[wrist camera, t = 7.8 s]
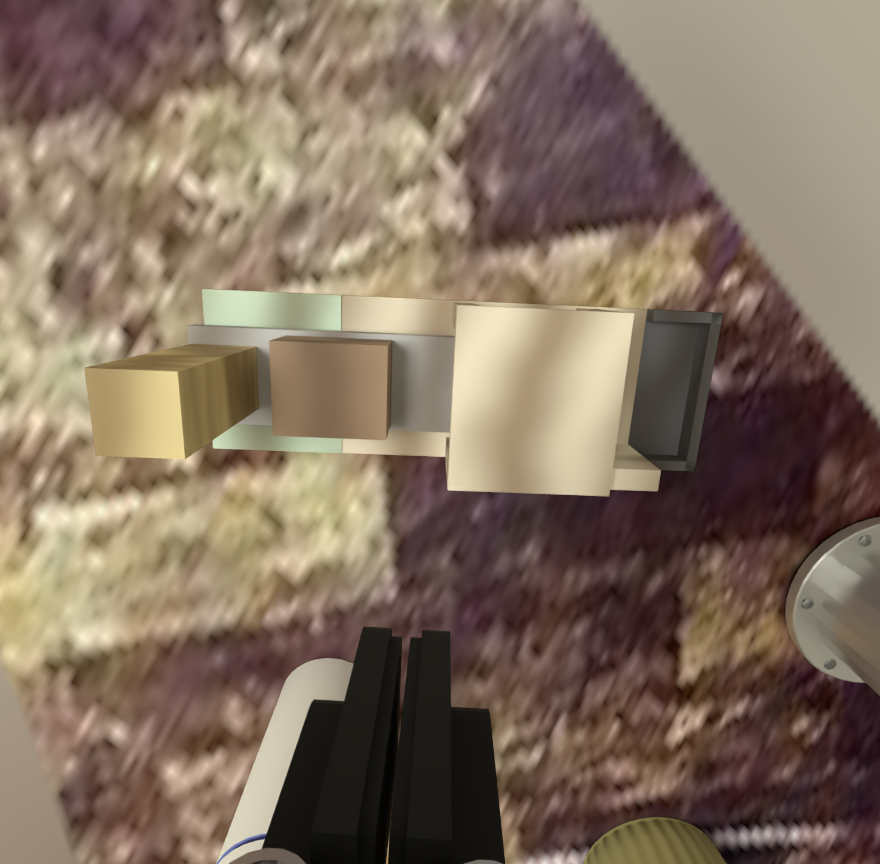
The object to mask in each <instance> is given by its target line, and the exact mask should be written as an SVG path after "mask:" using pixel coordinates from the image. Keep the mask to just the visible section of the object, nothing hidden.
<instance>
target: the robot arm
mask: <svg viewBox="0 0 880 864" xmlns="http://www.w3.org/2000/svg"><path fill="white" fill-rule="evenodd" d="M785 618H786V625H787V630H788V632H789V635H790V638H791V640H792V642H793V643H794V645H795V646H796V648H797V649H798V651H799V652H800V653H801V654H802V655H803V656H804V657H805V658H806V659H807V660H808V661H809V662H810V663H811V664H812V665H813V666H815V667H816V668H817V669H819V670H820V671H821V672H823V673H825V674H827V675H830V676H832V677H835V678H837V679H840V680H845V681H850V682H863V683H866V684H867V685H868V686H870V687H871V688H872V689H873V690H874V691H875V692H876V693H877V694H878V695H879V696H880V517H875V518H871V519H868V520H865V521H861V522H858V523H855V524H853V525H851V526H849V527H847V528H845V529H843V530H841V531H839V532H837V533H836V534H834V535H833V536H831V537H830V538H828V539H827V540H826V541H824V542H823V543H822V544H821V545H820V546H818V547H817V548H816V549H815V550H814V551H813V552H812V553H811V554H810V555H809V556H808V558H807V559H806V560H805V562H804V563H803V564H802V565H801V567H800V568H799V569H798V571H797V573H796V575H795V577H794V579H793V581H792V583H791V585H790V589H789V592H788V595H787V599H786V608H785ZM401 654H402V637H396V636H392V628H378V627H363V629H362V633H361V637H360V641H359V645H358V649H357V653H356V656H355V660H354V664H353V668H352V672H351V676H350V680H349V684H348V688H347V692H346V696H345V699H344V701H335V700H317V699H314V700H313V701H312V702H311V704H310V707H309V709H308V712H307V715H306V718H305V721H304V724H303V727H302V730H301V733H300V736H299V739H298V742H297V745H296V748H295V751H294V754H293V757H292V760H291V763H290V766H289V769H288V772H287V775H286V778H285V781H284V784H283V786H282V789H281V792H280V795H279V798H278V801H277V804H276V807H275V810H274V813H273V816H272V819H271V822H270V825H269V828H268V831H267V834H266V837H265V840H264V843H263V846H262V849H260V850H256V851H252V852H248V853H246V854H244V855H242V856H241V857H239V858H237V859H235V860H233V861H232V862H230V863H229V864H386V857H387V848H388V839H389V830H390V839H389V857H388V864H505V857H504V847H503V837H502V828H501V818H500V808H499V798H498V788H497V778H496V768H495V759H494V749H493V739H492V729H491V719H490V712H489V709H478V708H460V707H451V681H450V631H432V630H422V638H414V637H411V639H410V648H409V658H408V667H407V676H406V685H405V695H404V704H403V713H402V722H401V732H400V741H399V750H398V726H399V702H400V678H401ZM397 750H398V759H397ZM396 764H397V768H396ZM395 775H396V778H395ZM394 784H395V787H394ZM393 793H394V796H393ZM392 802H393V805H392ZM391 812H392V815H391ZM390 821H391V826H390Z"/></svg>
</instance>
